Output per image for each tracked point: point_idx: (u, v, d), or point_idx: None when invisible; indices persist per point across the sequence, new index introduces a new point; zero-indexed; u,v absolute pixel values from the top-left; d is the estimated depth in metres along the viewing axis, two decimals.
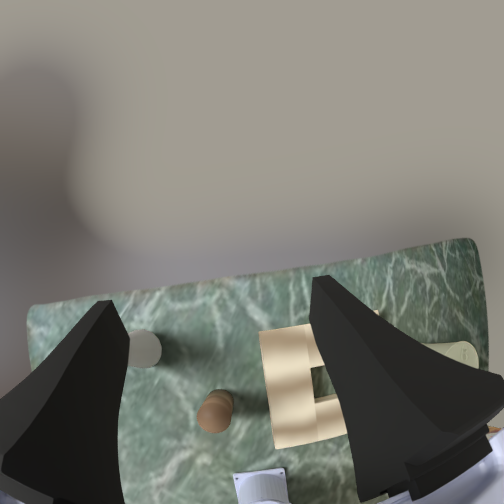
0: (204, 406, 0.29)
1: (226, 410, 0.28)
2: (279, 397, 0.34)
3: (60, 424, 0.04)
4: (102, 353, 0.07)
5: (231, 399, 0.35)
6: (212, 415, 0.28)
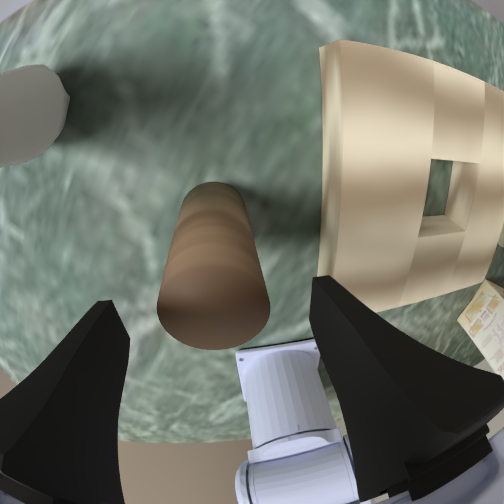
0: (179, 279, 0.09)
1: (258, 288, 0.09)
2: (362, 214, 0.15)
3: (60, 424, 0.04)
4: (102, 353, 0.07)
5: (245, 212, 0.15)
6: (209, 306, 0.09)
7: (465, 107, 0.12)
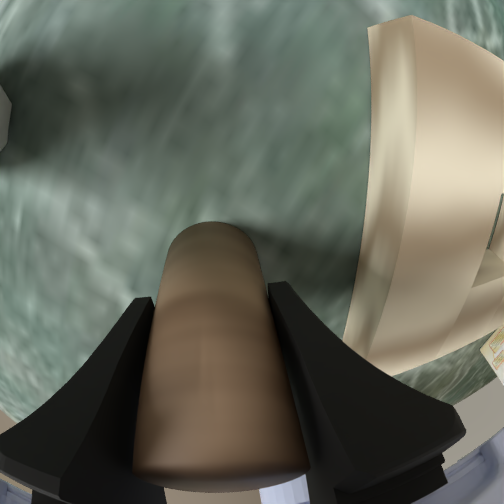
0: (161, 465, 0.04)
1: (297, 463, 0.04)
2: (419, 271, 0.10)
3: (112, 432, 0.04)
4: (144, 353, 0.08)
5: (261, 273, 0.10)
6: (214, 478, 0.04)
7: None
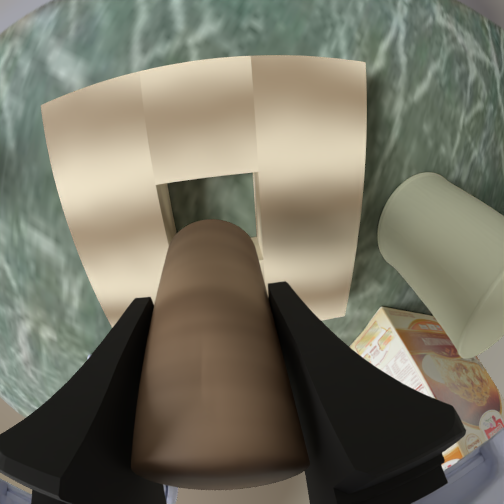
0: (161, 460, 0.04)
1: (297, 459, 0.04)
2: (96, 251, 0.15)
3: (111, 432, 0.04)
4: (144, 353, 0.08)
5: (261, 271, 0.10)
6: (213, 474, 0.04)
7: (205, 105, 0.12)
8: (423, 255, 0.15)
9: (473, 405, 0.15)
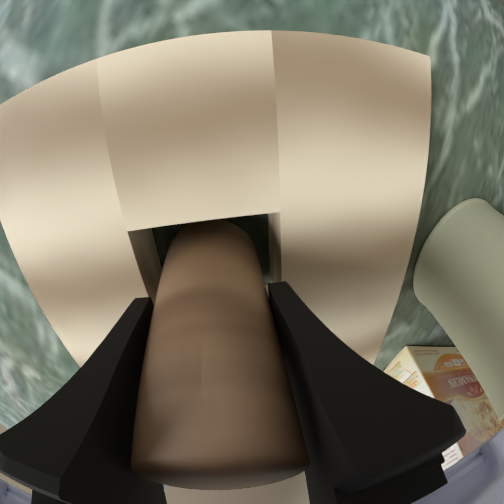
0: (161, 460, 0.04)
1: (297, 459, 0.04)
2: (62, 310, 0.11)
3: (112, 432, 0.04)
4: (144, 353, 0.08)
5: (261, 271, 0.10)
6: (213, 474, 0.04)
7: (197, 108, 0.08)
8: (475, 311, 0.11)
9: None
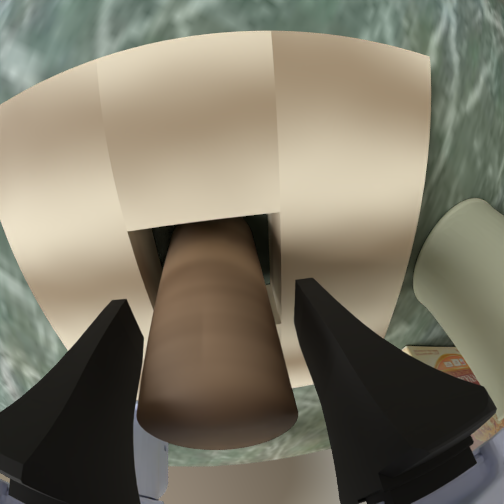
0: (165, 399, 0.05)
1: (285, 404, 0.05)
2: (62, 310, 0.11)
3: (79, 428, 0.04)
4: (118, 353, 0.07)
5: (256, 251, 0.11)
6: (210, 421, 0.06)
7: (197, 108, 0.08)
8: (474, 311, 0.11)
9: None
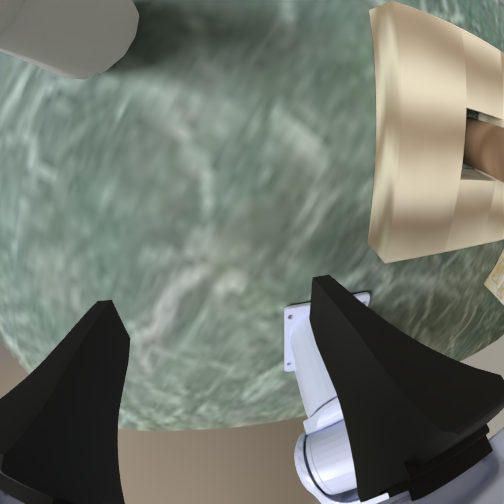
0: None
1: None
2: (417, 148, 0.14)
3: (60, 424, 0.04)
4: (102, 353, 0.07)
5: None
6: None
7: (488, 69, 0.11)
8: None
9: None
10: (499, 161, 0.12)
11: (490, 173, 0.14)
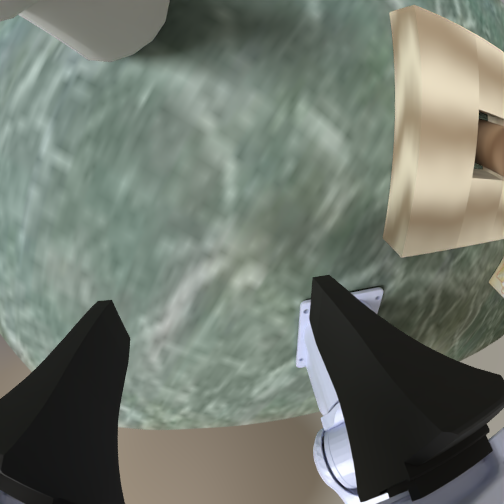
0: None
1: None
2: (435, 146, 0.14)
3: (60, 424, 0.04)
4: (102, 353, 0.07)
5: None
6: None
7: (498, 73, 0.11)
8: None
9: None
10: None
11: (500, 172, 0.14)
